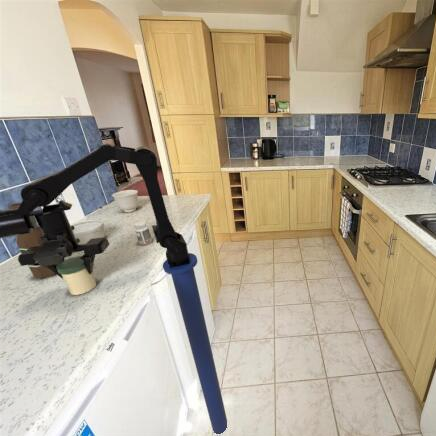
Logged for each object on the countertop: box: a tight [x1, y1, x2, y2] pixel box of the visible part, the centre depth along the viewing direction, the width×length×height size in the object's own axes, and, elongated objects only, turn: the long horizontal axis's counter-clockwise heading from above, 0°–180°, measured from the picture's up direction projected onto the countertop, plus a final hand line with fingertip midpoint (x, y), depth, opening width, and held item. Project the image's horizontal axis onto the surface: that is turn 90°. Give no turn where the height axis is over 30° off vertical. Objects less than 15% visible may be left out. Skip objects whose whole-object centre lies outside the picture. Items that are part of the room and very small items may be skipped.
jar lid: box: [56, 255, 86, 274], centre depth 70 cm, size 7×7×2 cm
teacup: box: [111, 189, 139, 213], centre depth 132 cm, size 12×15×10 cm
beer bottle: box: [8, 202, 57, 279], centre depth 76 cm, size 8×8×24 cm
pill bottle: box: [133, 221, 153, 246], centre depth 97 cm, size 5×5×8 cm
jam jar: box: [61, 267, 97, 296], centre depth 71 cm, size 6×6×8 cm
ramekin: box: [70, 219, 106, 245], centre depth 99 cm, size 13×13×7 cm
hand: (77, 275), depth 71 cm, fingers closed on jar lid, 6 cm apart
